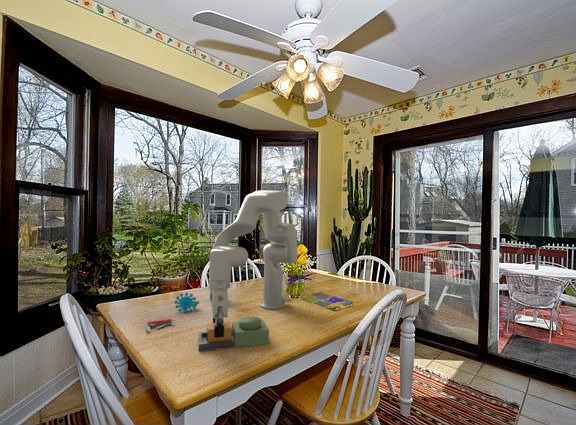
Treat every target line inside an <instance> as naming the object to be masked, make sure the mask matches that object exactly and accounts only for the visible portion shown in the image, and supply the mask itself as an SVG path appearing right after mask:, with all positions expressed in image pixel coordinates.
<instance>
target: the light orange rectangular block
mask: <svg viewBox="0 0 576 425" xmlns="http://www.w3.org/2000/svg"><path fill="white" fill-rule="evenodd" d="M214 327H215V323H213V322H209V323H207V327H206V332H207V342H216V341H226V340H231V336H232V322H231V321H224V337H219V338H215V337H214Z"/></svg>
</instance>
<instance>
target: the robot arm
mask: <svg viewBox="0 0 576 425" xmlns="http://www.w3.org/2000/svg"><path fill="white" fill-rule="evenodd" d="M288 201H289V198H288V194H287V192H286V191H283V190H266V189H265V190H256V191H254V192H252V193H249V194H246V196H245V197H244V199H243V202H242V204H241V207H240V209H239V211H238V214H237V217H236V219H235V220H234V222H232V223H231V224H229V225H227V226H226V227H225V229H224V228H223V230H222V231H221V232H219V234H218V235H217V237H216V238H215V241H214V243H213V246H212V249H211V250H210V253H209V272H208V273H209V274H208V277H209V278H208V289H209V290H210V289H212V301H211V311H212V323H215V327H214V337H215V338H219V337H224V322H225V319H224V318H226V319H227V318H228V315H229V313H228V312H229V310H228V309H229V308H228V305H229V304H228V303H229V299H228V298H229V296H228V294H229V292H228V291H229V289H230V288H231V278H232V276H231V275H232V268H239V267H243V266H245V264H246V263H247V262H248V260H249V253H248V251H247V250H246V248H244V247H242V246H236V245H235V246H233V245H229V244H230V243H231V242H232V241H233V240H235V239H237V238H239V237H241V236H244V235H247V234H249V233H251V232H253V231H254V230H255V229H256V226H257V223H258V220H259V219H260V215H262V220H263V231H264V237H265V239H266V241H269V243H267V244H265V245H264V247H263V249H262V255H263V264H264V266H263V267H264V269H263V270H264V271H263V272H264V273H263V298H262V301H260V302H259V306H260V307H261V308H263V309H266V310H280V309H283V308H285V306H286V302H289V303H290V302H292V297H288V296H285V297H284V296H283V284H284V283H283V282H284V269H283V267H282V265H281V264H289V265H290V264H294V263H296V262H297V259H298V239H297V238H298V237H297V229H296V226H295V225H294V224H292V223H289V222H282V221H281V213H280V211H282V210H284V209H285V208H287V205H288V203H289V202H288Z"/></svg>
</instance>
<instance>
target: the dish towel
mask: <svg viewBox="0 0 576 425" xmlns="http://www.w3.org/2000/svg"><path fill="white" fill-rule="evenodd" d="M326 299H329V300H326ZM333 299H334V300H333ZM301 300H302V301H304V300H305V301H304V302H306V301H308V302H307V303H309V302H311V303H310V304H312V303H314V304H317V305H320V306H323V307H326V308H329V309H328V310H330V309H333V310H332V311H335V309H336V308H340V306H328V305H330V304H333V303H336V302H345V303H340V304H342V305H343V306H347V305H350V304H352V303H353V304H354V301H352V300H349V299H346V298H342V297H337V296H335V295H331V294H327V293H326V292H323V291H318V292H313V293H310V294H305V295H302V297H301ZM321 300H324V301H325V302H324V301H321ZM314 304H313V305H314ZM317 305H316V306H317ZM320 306H319V307H320ZM323 307H322V308H323ZM326 308H325V309H326Z"/></svg>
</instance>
